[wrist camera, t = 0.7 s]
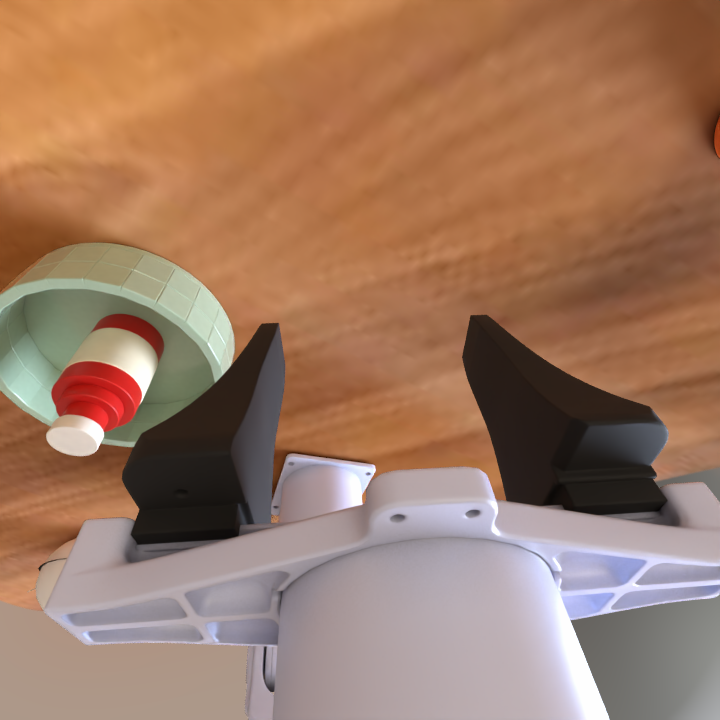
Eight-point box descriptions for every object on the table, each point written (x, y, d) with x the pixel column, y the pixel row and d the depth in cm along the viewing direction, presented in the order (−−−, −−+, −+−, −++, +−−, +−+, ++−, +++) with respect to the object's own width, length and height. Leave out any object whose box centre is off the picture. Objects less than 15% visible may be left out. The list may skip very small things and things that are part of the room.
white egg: (115, 515, 41) (81, 597, 35) (150, 551, 45) (125, 627, 40) (15, 529, 41) (-34, 612, 35) (60, 562, 46) (24, 640, 40)
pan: (224, 416, 33) (214, 458, 30) (36, 387, 30) (3, 431, 27) (247, 273, 25) (237, 311, 22) (-4, 214, 22) (-56, 249, 19)
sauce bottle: (164, 369, 29) (120, 472, 22) (96, 358, 28) (30, 462, 21) (166, 320, 26) (117, 421, 20) (91, 305, 25) (14, 406, 19)
